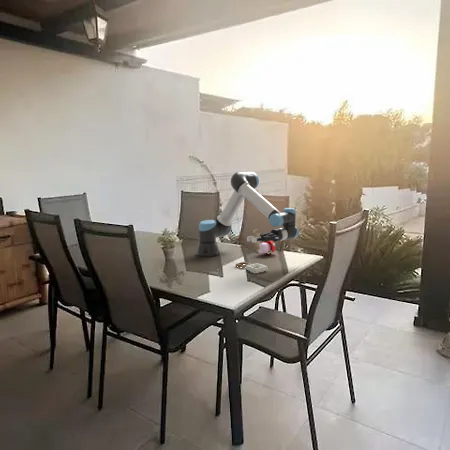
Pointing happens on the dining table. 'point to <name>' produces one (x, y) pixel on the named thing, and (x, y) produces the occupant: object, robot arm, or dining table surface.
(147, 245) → the dining table surface
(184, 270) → the dining table surface
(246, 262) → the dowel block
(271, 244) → the mushroom
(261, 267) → the tray
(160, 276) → the dining table surface
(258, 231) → the dowel
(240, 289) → the dining table surface
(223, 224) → the robot arm
